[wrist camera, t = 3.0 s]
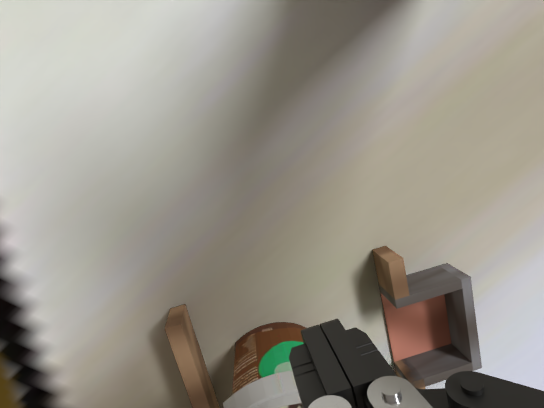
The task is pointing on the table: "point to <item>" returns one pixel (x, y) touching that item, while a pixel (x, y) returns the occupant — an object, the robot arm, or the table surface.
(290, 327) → the food container
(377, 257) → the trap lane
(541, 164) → the table surface
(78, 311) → the table surface
